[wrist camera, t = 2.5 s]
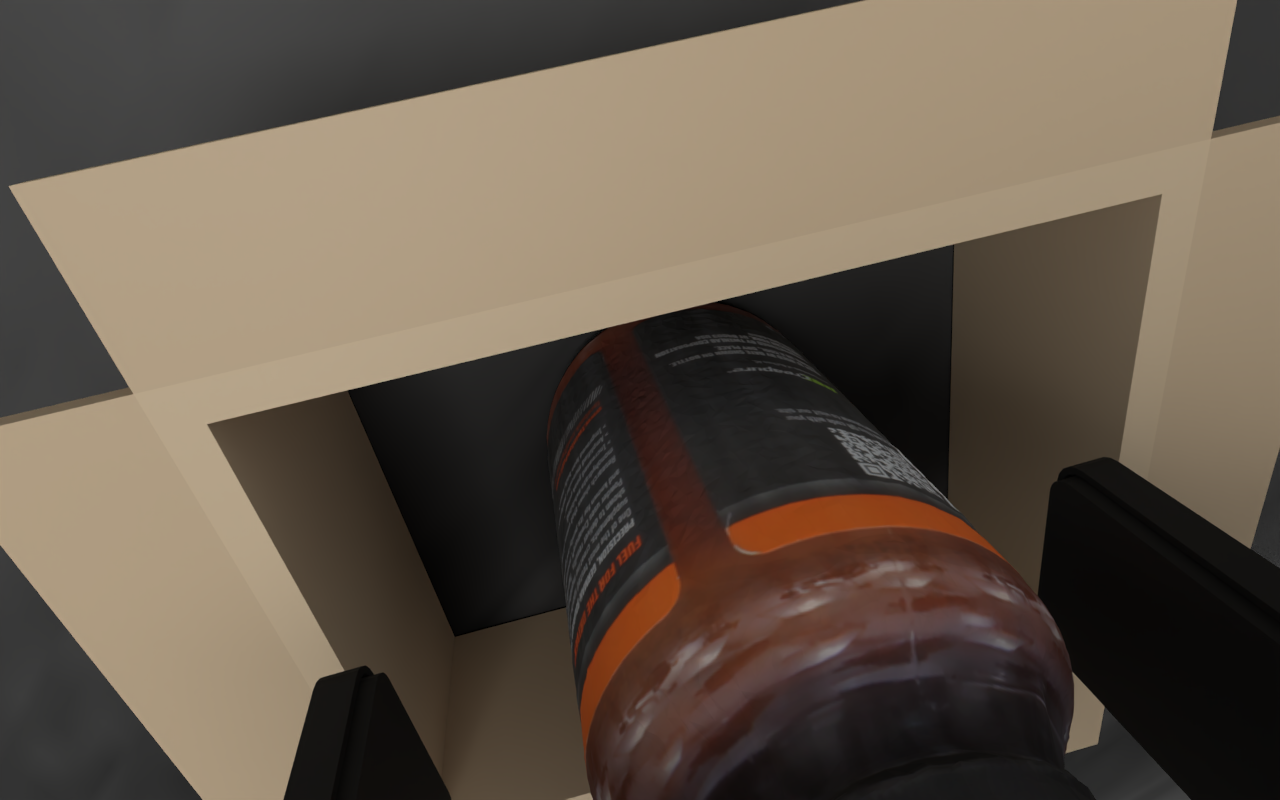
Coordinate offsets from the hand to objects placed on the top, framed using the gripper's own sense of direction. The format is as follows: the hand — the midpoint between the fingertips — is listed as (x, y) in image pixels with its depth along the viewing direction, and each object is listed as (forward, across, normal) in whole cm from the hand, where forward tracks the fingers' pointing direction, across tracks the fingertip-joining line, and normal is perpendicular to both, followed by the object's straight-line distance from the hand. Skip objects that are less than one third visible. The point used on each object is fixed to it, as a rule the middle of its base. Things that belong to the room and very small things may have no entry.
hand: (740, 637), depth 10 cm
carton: (+7, -1, 0) cm, 7 cm away
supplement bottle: (+7, -1, 0) cm, 7 cm away
